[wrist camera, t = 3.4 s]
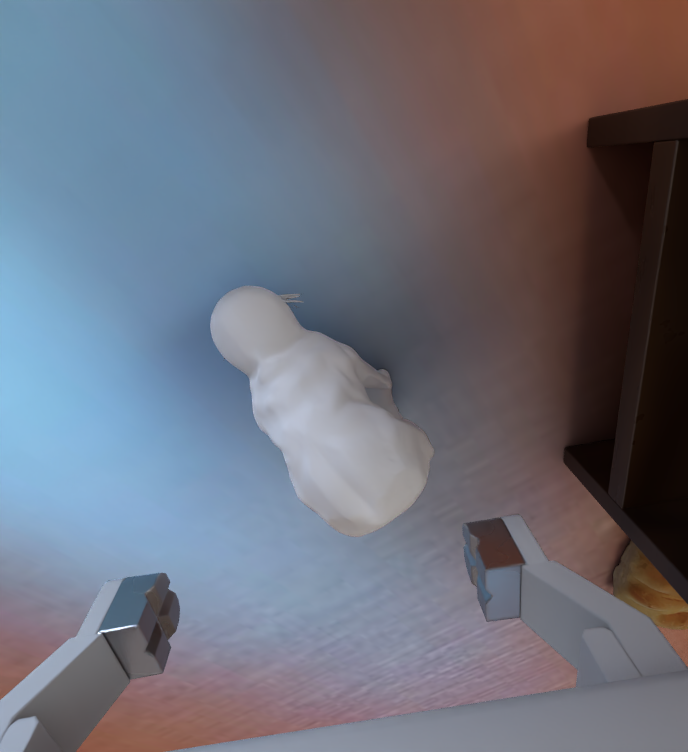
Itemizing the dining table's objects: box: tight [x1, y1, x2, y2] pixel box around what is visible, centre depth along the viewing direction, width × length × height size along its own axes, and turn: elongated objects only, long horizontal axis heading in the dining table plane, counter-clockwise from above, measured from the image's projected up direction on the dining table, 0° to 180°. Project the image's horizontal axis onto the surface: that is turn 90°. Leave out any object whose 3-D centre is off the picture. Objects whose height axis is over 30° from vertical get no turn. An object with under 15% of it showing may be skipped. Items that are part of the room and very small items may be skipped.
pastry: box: [613, 540, 688, 630], centre depth 30 cm, size 9×7×4 cm
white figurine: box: [210, 286, 434, 537], centre depth 20 cm, size 6×8×12 cm
